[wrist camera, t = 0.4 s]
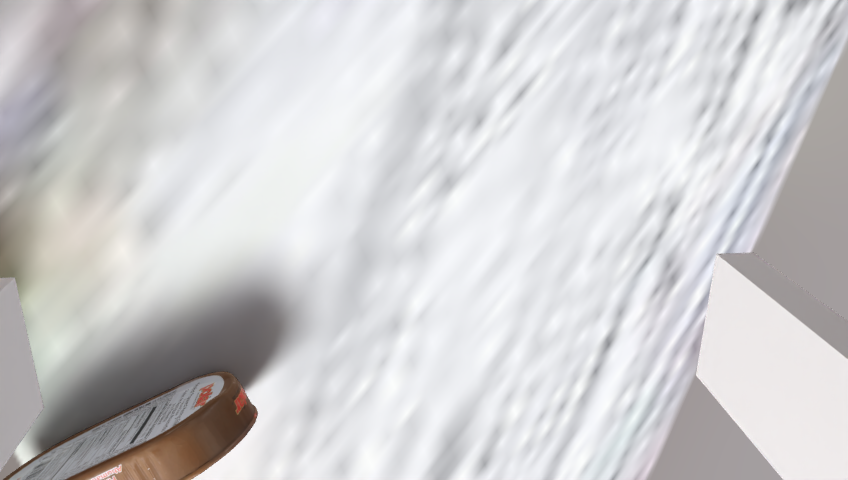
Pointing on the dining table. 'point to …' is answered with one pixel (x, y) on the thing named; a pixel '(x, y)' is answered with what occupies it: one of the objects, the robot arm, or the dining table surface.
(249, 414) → the tin
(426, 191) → the dining table surface
